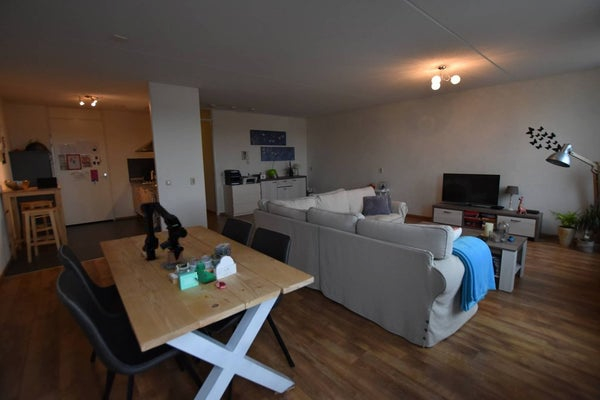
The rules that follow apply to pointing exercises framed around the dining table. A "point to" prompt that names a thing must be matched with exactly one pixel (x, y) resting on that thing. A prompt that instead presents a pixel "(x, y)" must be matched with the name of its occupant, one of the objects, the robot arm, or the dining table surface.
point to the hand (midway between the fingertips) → (175, 259)
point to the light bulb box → (223, 249)
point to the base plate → (172, 266)
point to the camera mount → (203, 273)
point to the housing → (172, 257)
